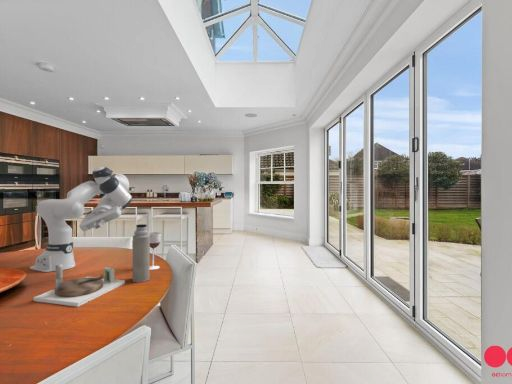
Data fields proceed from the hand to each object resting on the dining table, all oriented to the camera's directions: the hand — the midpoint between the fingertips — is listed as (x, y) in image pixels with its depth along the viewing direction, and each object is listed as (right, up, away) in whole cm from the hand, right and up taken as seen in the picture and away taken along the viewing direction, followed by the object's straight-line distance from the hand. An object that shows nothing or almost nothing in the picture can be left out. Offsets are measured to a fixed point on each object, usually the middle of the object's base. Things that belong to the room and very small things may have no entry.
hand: (97, 226), depth 135 cm
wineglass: (+17, -27, +26) cm, 42 cm away
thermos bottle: (+19, -28, +5) cm, 34 cm away
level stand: (0, -27, -12) cm, 30 cm away
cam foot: (0, -26, -13) cm, 29 cm away
